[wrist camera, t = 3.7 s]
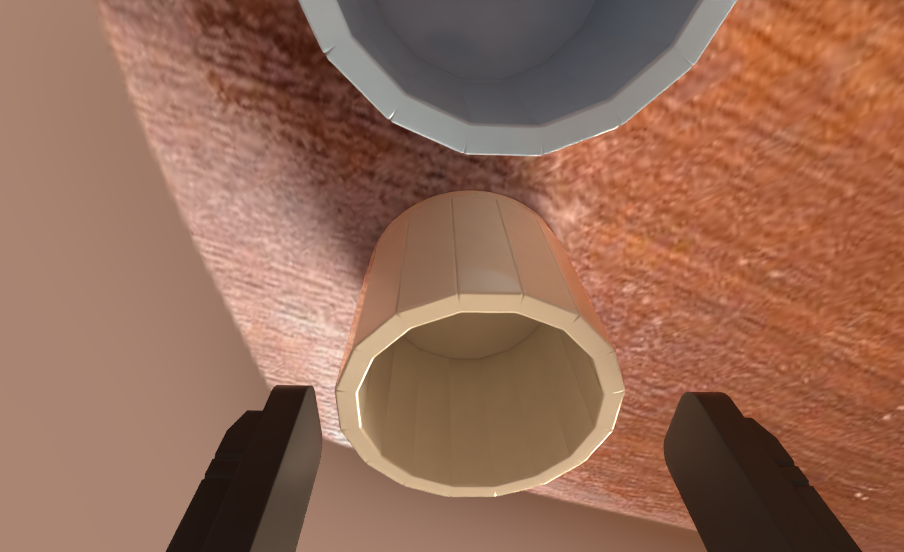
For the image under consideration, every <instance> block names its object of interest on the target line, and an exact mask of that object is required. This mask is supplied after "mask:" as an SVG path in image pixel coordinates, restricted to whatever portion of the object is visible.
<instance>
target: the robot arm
mask: <svg viewBox="0 0 904 552" xmlns="http://www.w3.org/2000/svg"><path fill="white" fill-rule="evenodd" d="M321 451H322V431H321V425H320V419H319V413H318V408H317V402H316V396H315V391H314V388H313V386H301V385H276V386H275V387H274V388H273V389H272V391H271V393H270V396H269V398H268V400H267V403H266V405H265V407H264V409H263V411H249V410H248V411H246V412H245V413H244V414H243V415H242V417H240V418H239V419H238V420H237V421H236V422H235V423H234V425H232V426H231V427H230V428H229V429H228V430H227V432H226V434H225V436H224V438H223V439H222V442H221V443H220V445H219V448H218V450H217V451H216V454H215V458H214V459H212V461H211V463H210V465H209V467H208V469H207V471H206V473H205V478H204V480H202V481H201V483H200V485H199V487H198V489H197V491H196V493H195V495H194V497H193V499H192V501H191V503H190V505H189V507H188V509H187V511H186V513H185V515H184V517H183V519H182V520H181V522H180V525H179V526H178V528H177V530H176V532H175V534H174V536H173V538H172V540H171V542H170V544H169V546H168V548H167V550H166V552H295V551H296V547H297V544H298V540H299V536H300V533H301V529H302V525H303V522H304V518H305V514H306V511H307V507H308V503H309V500H310V496H311V492H312V489H313V485H314V481H315V477H316V474H317V470H318V466H319V463H320V458H321ZM664 456H665V461H666V464H667V467H668V469H669V471H670V473H671V476H672V478H673V480H674V482H675V484H676V486H677V488H678V490H679V492H680V495H681V497H682V499H683V501H684V503H685V505H686V507H687V509H688V511H689V514H690V516H691V518H692V520H693V522H694V524H695V526H696V528H697V530H698V532H699V534H700V536H701V538H702V541H703V543H704V545H705V547H706V549H707V551H708V552H862V551H861V550H860V548H859V547H858V546H857V544H856V543H855V542H854V540H853V539H852V538H851V536H850V535H849V534H848V532H847V531H846V530H845V528H844V527H843V526H842V524H841V523H840V522H839V520H838V519H837V518H836V516H835V515H834V514H833V513H832V511H831V510H830V509H829V507H828V506H827V505H826V503H825V502H824V501H823V499H822V498H821V497H820V495H819V494H818V493H817V491H816V490H815V489H814V487H813V486H810V485H809V481H808V479H807V478H806V477H805V475H804V474H803V473H802V471H801V470H800V469H799V467H798V466H795V465H794V461H793V459H792V458H791V457H790V455H789V454H788V453H787V451H786V450H785V449H784V448H783V446H782V445H781V444H780V442H779V441H778V440H777V438H776V437H774V436H773V435H772V434H771V433H770V432H768V431H767V430H766V429H765V428H763V427H762V426H761V425H760V424H759V423H757V422H756V421H755V420H754V419H752V418H744V416H743V415H742V414H741V412H740V411H739V409H738V408H737V407H736V405H735V404H734V402H733V401H732V400H731V398H730V397H729V396H728V395H726V394H725V393H722V392H686V393H684V394H683V395H682V397H681V399H680V401H679V404H678V406H677V409H676V411H675V414H674V416H673V419H672V421H671V424H670V426H669V429H668V431H667V434H666V436H665V440H664Z"/></svg>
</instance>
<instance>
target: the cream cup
mask: <svg viewBox="0 0 904 552" xmlns="http://www.w3.org/2000/svg"><path fill="white" fill-rule="evenodd" d="M335 387H336V388H335V395H336V403H337V410H338V418H339V425H340V429H341V431H342V433H343V434H344V435H345V437H346V438H347V439H348V441H349V442H350V443H351V445H352V446H353V447H354V449H355V450H356V451H357V453H358V454H359V455H360V457H361V458H362V460H363V461H364V462H366V464H368V465H369V466H371V467H373V468H374V469H376V470H378V471H379V472H381V473H383V474H384V475H386V476H388V477H389V478H391V479H393V480H394V481H396V482H398V483H399V484H401V485H404V486H406V487H410V488H414V489H418V490H422V491H426V492H430V493H434V494H438V495H442V496H446V497H447V496H449V497H495V496H501V495H505V494H509V493H513V492H517V491H521V490H525V489H529V488H533V487H537V486H541V485H542V484H546V483H548V482H550V481H551V480H553V479H555V478H557V477H559V476H560V475H562V474H564V473H566V472H567V471H569V470H571V469H573V468H575V467H576V466H578V465H580V464H582V463H583V462H585V461H586V460H587V459H588V457H589V456H590V455H591V454H592V453H593V452H594V451H595V450H596V449H597V448H598V446H599V445H600V444H601V443H602V442H603V441H604V440H605V439H606V438H607V437H608V435H609V434H610V433H611V432H612V429H614V425H615V422H616V419H617V416H618V413H619V409H620V406H621V403H622V400H623V396H624V393H625V391H624V390H625V386H624V382H623V378H622V374H621V370H620V366H619V362H618V358H617V354H616V350H615V348H614V346H613V344H612V342H611V340H610V338H609V336H608V334H607V332H606V330H605V328H604V326H603V324H602V322H601V320H600V319H599V317H598V315H597V313H596V311H595V309H594V307H593V305H592V303H591V301H590V299H589V297H588V295H587V293H586V291H585V289H584V287H583V285H582V283H581V281H580V279H579V277H578V275H577V273H576V271H575V269H574V267H573V265H572V263H571V261H570V259H569V257H568V255H567V253H566V252H565V250H564V248H563V246H562V244H561V242H560V241H559V240H558V239H557V238H556V236H555V234H554V233H553V231H552V230H551V228H550V227H549V226H548V224H547V223H546V222H545V221H544V220H543V219H542V218H541V217H540V216H539V215H538V214H537V213H536V212H534V211H533V210H531V209H530V208H529V207H527V206H526V205H524V204H522V203H520V202H518V201H516V200H514V199H512V198H509V197H506V196H503V195H500V194H496V193H491V192H486V191H474V190H468V191H455V192H449V193H443V194H440V195H436V196H433V197H430V198H428V199H425V200H423V201H421V202H419V203H417V204H415V205H413V206H412V207H410V208H408V209H407V210H405V211H404V212H403V213H402V214H400V215H399V216H398V217H397V218H395V219H394V220H393V222H392V223H391V224H390V225H389V226H388V227H387V228H386V229H385V231H384V232H383V234H382V235H381V236H380V238H379V240H378V242H377V244H376V246H375V248H374V250H373V253H372V256H371V260H370V263H369V266H368V268H367V271H366V273H365V276H364V280H363V284H362V288H361V292H360V295H359V299H358V303H357V307H356V310H355V314H354V318H353V322H352V326H351V329H350V333H349V337H348V341H347V344H346V348H345V352H344V356H343V359H342V363H341V367H340V371H339V375H338V378H337V382H336V386H335Z"/></svg>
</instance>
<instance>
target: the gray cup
mask: <svg viewBox="0 0 904 552" xmlns="http://www.w3.org/2000/svg"><path fill="white" fill-rule="evenodd" d="M736 1H737V0H298V2H299V4H300V6H301V8H302V10H303V12H304V15H305V17H306V19H307V21H308V23H309V25H310V27H311V29H312V31H313V34H314V36H315V38H316V40H317V42H318V44H319V46H320V48H321V50H322V51H323V52H324V53H326V54H325V55H326V57H327V59H328V60H329V61H330V62H331V63H332V64H333V65H334V66H335V67H336V68H337V69H338V70H339V71H340V72H341V73H342V74H343V75H344V76H345V77H346V78H347V79H348V80H349V81H350V82H351V83H352V84H353V85H354V86H355V87H356V88H357V89H358V90H359V91H360V92H361V93H362V94H363V95H364V96H365V97H366V98H367V99H368V100H369V101H370V102H371V103H372V104H373V106H374V107H375V108H376V109H377V110H378V111H379V112H380V113H381V114H382V115H383V116H384V117H385V118H387V119H390V121H391V122H392V123H394V124H396V125H399V126H401V127H403V128H405V129H408V130H410V131H412V132H414V133H417V134H419V135H421V136H423V137H426V138H428V139H430V140H432V141H435V142H437V143H439V144H441V145H444V146H446V147H448V148H450V149H453V150H455V151H457V152H459V153H463V152H464V154H466V155H505V156H541V155H546V154H549V153H552V152H554V151H557V150H560V149H563V148H565V147H568V146H571V145H573V144H576V143H579V142H581V141H584V140H587V139H590V138H592V137H595V136H598V135H600V134H603V133H606V132H609V131H611V130H614V129H616V128H618V127H619V125H620V126H621V125H623V124H625V123H626V122H627V121H628V120H629V119H631V118H632V117H633V116H634V115H635V114H637V113H638V112H639V111H640V110H642V109H643V108H644V107H645V106H646V105H648V104H649V103H650V102H651V101H652V100H654V99H655V98H656V97H657V96H658V95H660V94H661V93H662V92H663V91H664V90H666V89H667V88H668V87H669V86H671V85H672V84H673V83H674V82H675V81H677V80H678V79H679V78H680V77H681V76H683V75H684V74H685V73H686V72H687V71H689V70H690V69H691V67H692V66H691V65H694V64H695V63H696V62H697V61H698V59H699V58H700V56H701V55H702V53H703V52H704V50H705V49H706V47H707V45H708V44H709V42H710V41H711V39H712V38H713V36H714V35H715V33H716V32H717V30H718V29H719V27H720V26H721V24H722V23H723V21H724V20H725V18H726V17H727V15H728V13H729V12H730V10H731V9H732V7H733V6H734V4H735V3H736Z"/></svg>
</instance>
